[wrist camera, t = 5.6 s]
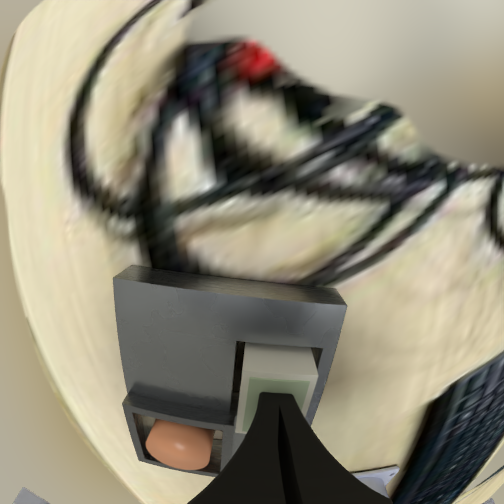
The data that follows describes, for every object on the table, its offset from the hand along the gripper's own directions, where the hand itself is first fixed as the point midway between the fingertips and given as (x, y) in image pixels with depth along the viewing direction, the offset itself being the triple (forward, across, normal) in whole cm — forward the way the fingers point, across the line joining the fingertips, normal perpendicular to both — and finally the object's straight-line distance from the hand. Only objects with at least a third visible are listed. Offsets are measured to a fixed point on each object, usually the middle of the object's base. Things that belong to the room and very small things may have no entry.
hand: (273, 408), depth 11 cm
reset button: (+3, +5, +5) cm, 7 cm away
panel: (+4, +2, +2) cm, 5 cm away
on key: (+3, 0, 0) cm, 3 cm away
